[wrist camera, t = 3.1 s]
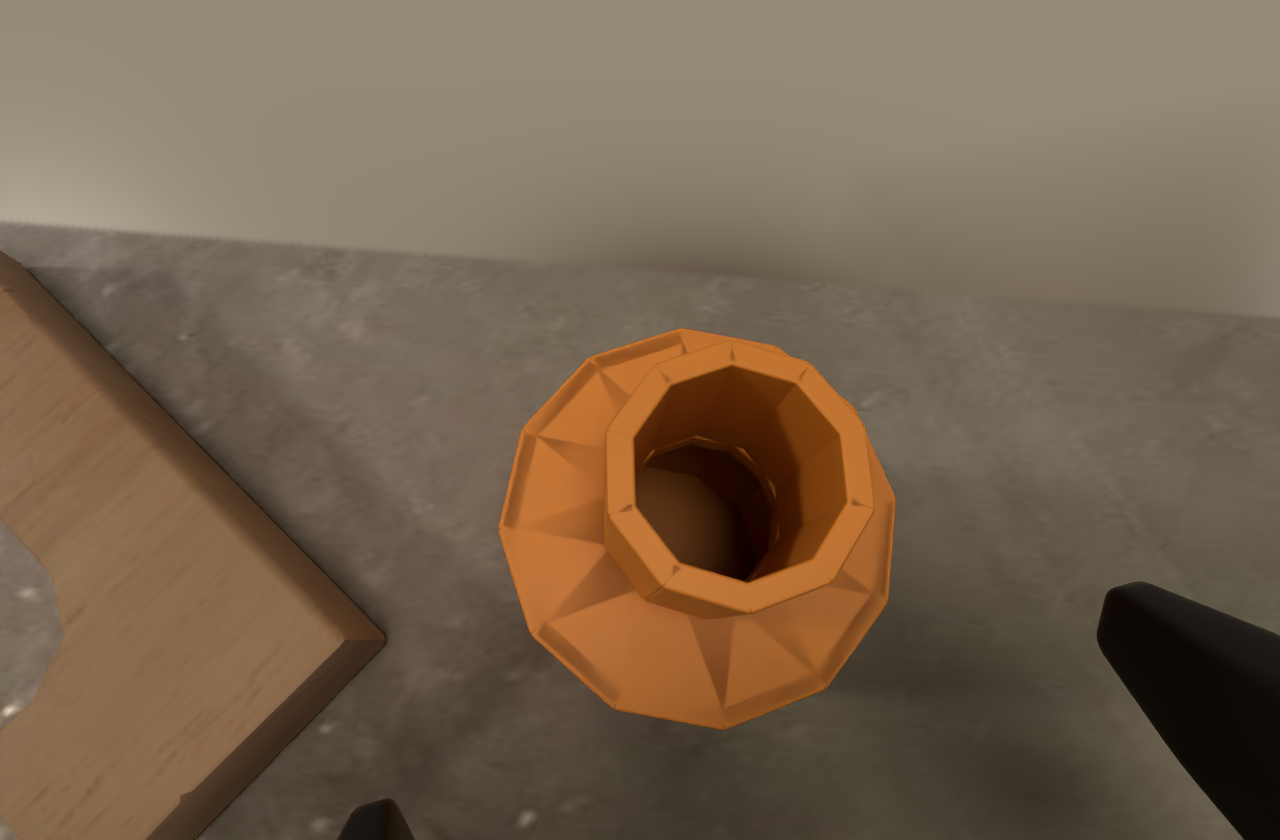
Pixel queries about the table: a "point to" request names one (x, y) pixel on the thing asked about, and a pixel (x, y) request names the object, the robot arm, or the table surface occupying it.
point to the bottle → (698, 528)
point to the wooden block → (147, 601)
